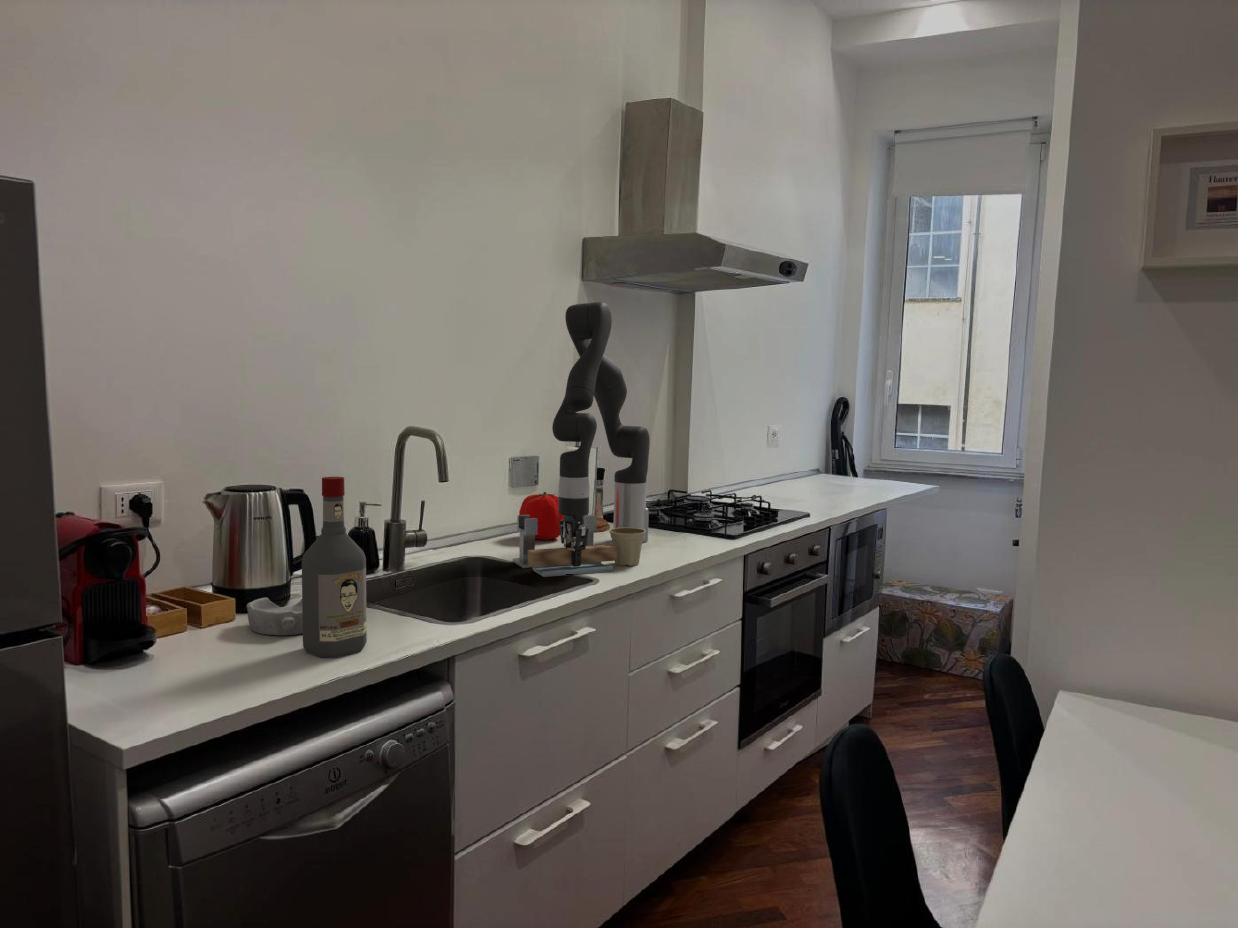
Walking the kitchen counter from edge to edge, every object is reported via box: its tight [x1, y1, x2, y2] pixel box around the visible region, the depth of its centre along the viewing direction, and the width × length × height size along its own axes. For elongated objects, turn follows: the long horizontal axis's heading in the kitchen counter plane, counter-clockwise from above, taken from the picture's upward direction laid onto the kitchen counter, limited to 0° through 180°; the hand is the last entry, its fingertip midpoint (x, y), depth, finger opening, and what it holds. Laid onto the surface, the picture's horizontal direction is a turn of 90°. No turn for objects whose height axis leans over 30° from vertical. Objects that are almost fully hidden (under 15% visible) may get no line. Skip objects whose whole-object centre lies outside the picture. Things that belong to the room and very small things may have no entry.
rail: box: [528, 543, 617, 568], centre depth 224 cm, size 22×4×4 cm, turn 115°
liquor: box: [301, 476, 368, 659], centre depth 158 cm, size 9×9×30 cm
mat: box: [532, 562, 614, 578], centre depth 225 cm, size 18×8×1 cm, turn 115°
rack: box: [512, 513, 598, 569], centre depth 234 cm, size 21×8×12 cm, turn 115°
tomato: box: [518, 491, 564, 541], centre depth 266 cm, size 16×14×14 cm
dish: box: [246, 597, 303, 636], centre depth 172 cm, size 14×14×5 cm
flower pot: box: [608, 527, 646, 567], centre depth 234 cm, size 9×9×9 cm
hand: (572, 563), depth 225 cm, fingers open, 3 cm apart
